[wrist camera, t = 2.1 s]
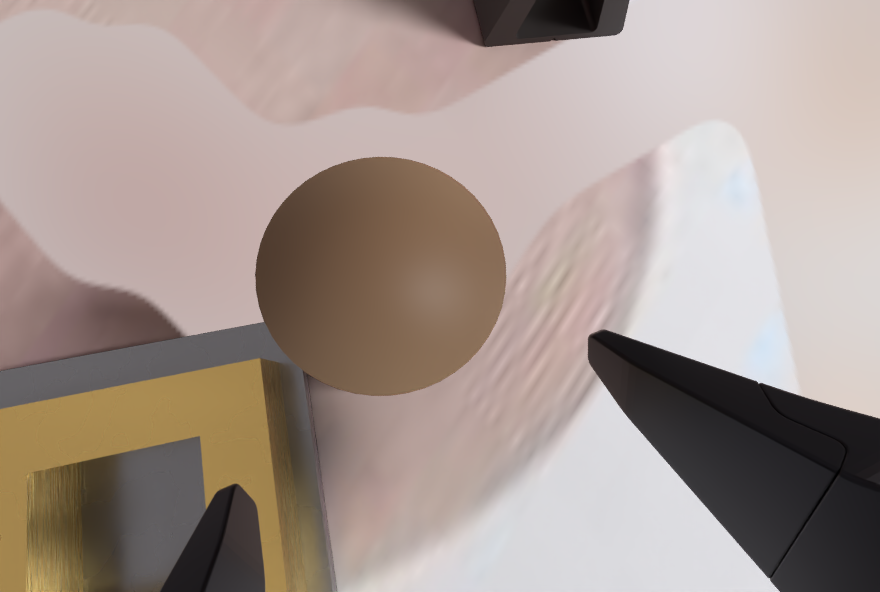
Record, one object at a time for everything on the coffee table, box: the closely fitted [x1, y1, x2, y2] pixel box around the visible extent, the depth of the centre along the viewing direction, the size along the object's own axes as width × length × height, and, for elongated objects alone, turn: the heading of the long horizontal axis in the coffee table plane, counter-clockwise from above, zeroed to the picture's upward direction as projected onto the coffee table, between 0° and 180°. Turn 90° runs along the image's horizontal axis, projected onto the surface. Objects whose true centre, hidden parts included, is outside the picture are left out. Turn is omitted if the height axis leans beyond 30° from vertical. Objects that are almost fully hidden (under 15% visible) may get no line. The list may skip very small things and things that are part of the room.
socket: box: [0, 322, 337, 592], centre depth 16 cm, size 15×13×3 cm
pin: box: [255, 157, 506, 396], centre depth 13 cm, size 4×4×14 cm
